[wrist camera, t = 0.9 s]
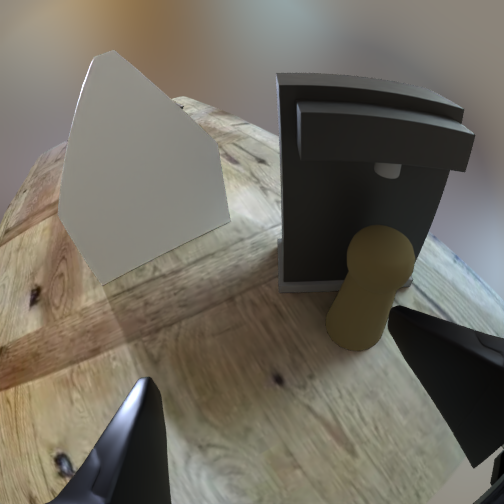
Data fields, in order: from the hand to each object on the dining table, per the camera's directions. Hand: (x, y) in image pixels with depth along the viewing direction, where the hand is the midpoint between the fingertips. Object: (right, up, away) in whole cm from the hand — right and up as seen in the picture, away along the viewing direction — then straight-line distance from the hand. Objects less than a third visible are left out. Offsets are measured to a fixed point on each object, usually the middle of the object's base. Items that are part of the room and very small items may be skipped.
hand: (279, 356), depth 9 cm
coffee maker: (+9, +1, +20) cm, 22 cm away
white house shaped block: (-16, +8, +30) cm, 35 cm away
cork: (+9, -4, +16) cm, 19 cm away
